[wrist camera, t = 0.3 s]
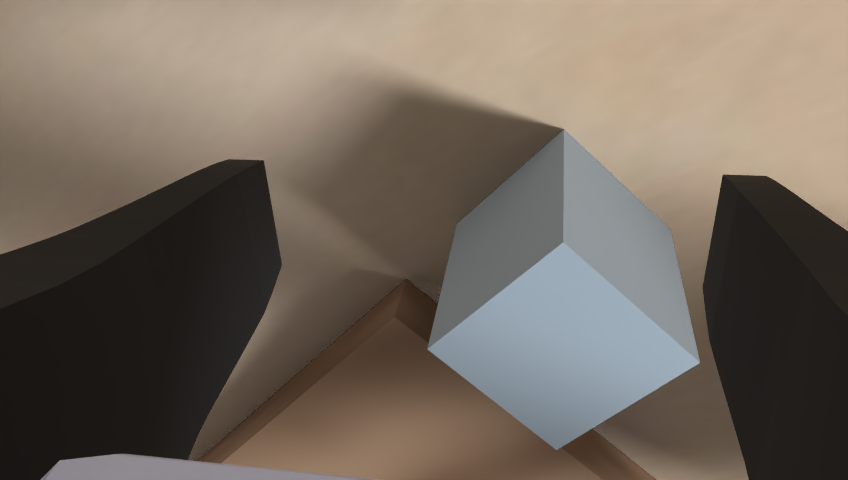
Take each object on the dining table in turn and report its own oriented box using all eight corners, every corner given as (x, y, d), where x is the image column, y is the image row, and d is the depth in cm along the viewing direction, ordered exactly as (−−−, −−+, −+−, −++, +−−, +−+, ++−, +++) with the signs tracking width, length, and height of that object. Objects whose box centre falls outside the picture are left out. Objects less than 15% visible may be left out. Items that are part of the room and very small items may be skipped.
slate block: (670, 227, 22) (700, 363, 17) (558, 309, 25) (556, 449, 20) (563, 128, 21) (563, 242, 16) (456, 223, 24) (427, 349, 19)
